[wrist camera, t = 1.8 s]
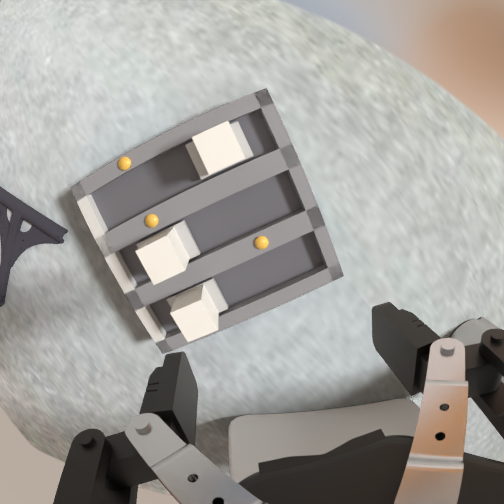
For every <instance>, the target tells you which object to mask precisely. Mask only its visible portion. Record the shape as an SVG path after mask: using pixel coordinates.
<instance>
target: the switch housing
mask: <svg viewBox="0 0 504 504" xmlns="http://www.w3.org/2000/svg"><path fill="white" fill-rule="evenodd" d="M226 121H228V122H229V124H232V123H234V122H237V121H238V123H239V125H240V127H241V129H242V131H243V133H244V135H245V138H246V140H247V142H248V144H249V146H250V149H251V151H252V153H253V155H254V156H252V157H250V158H248V159H245V160H243V161H241V162H239V163H236V164H234V165H232V166H230V167H227V168H225V169H223V170H221V171H219V172H217V173H214V174H212V175H210V176H208V177H206V178H204V179H202V180H201V178H200V176H199V174H198V172H197V170H196V168H195V165H194V163H193V161H192V159H191V157H190V155H189V153H188V150H187V148H186V146H185V145H186V144H188V143H190V142H192V141H193V139H192V137H193V136H195V135H198V134H200V133H202V132H204V131H206V130H208V129H211V128H213V127H215V126H217V125H219V124H222V123H224V122H226ZM71 190H72V192H73V195H74V197H75V199H76V201H77V203H78V206H79V208H80V210H81V212H82V214H83V216H84V218H85V220H86V223H87V225H88V227H89V229H90V231H91V233H92V235H93V237H94V239H95V241H96V243H97V244H98V246H99V248H100V250H101V252H102V254H103V256H104V258H105V260H106V262H107V263H108V265H109V267H110V269H111V271H112V272H113V274H114V276H115V278H116V280H117V281H118V283H119V285H120V287H121V288H122V290H123V292H124V293H125V295H126V297H127V299H128V300H129V302H130V304H131V305H132V307H133V309H134V310H135V312H136V313H137V315H138V317H139V318H140V320H141V321H142V323H143V325H144V326H145V328H146V329H147V331H148V332H149V334H150V336H151V337H152V339H153V340H154V342H155V343H156V345H157V346H158V348H159V349H160V351H161V352H162V354H164V353H167V352H169V351H172V350H174V349H177V348H180V347H182V346H185V345H187V344H190V343H192V342H195V341H197V340H200V339H202V338H205V337H207V336H210V335H212V334H215V333H217V332H220V331H222V330H224V329H227V328H229V327H232V326H234V325H236V324H239V323H241V322H243V321H246V320H248V319H250V318H253V317H255V316H257V315H260V314H262V313H264V312H266V311H269V310H271V309H273V308H276V307H278V306H280V305H282V304H284V303H287V302H289V301H291V300H293V299H296V298H298V297H300V296H302V295H304V294H306V293H309V292H311V291H313V290H315V289H317V288H319V287H321V286H323V285H326V284H328V283H330V282H332V281H334V280H336V279H338V278H340V277H342V276H344V275H343V272H342V270H341V267H340V264H339V261H338V258H337V255H336V253H335V250H334V247H333V244H332V242H331V239H330V236H329V234H328V231H327V228H326V226H325V223H324V220H323V218H322V215H321V213H320V210H319V207H318V205H317V202H316V200H315V197H314V195H313V192H312V190H311V187H310V185H309V183H308V180H307V178H306V175H305V173H304V170H303V168H302V166H301V163H300V161H299V159H298V156H297V154H296V152H295V149H294V147H293V145H292V143H291V140H290V138H289V136H288V133H287V131H286V129H285V127H284V125H283V122H282V120H281V118H280V116H279V114H278V112H277V109H276V107H275V105H274V103H273V101H272V99H271V97H270V95H269V93H268V90H267V88H266V89H263V90H260V91H258V92H255V93H252V94H250V95H247V96H245V97H242V98H240V99H237V100H235V101H233V102H230V103H228V104H225V105H223V106H221V107H218V108H216V109H214V110H212V111H209V112H207V113H205V114H203V115H200V116H198V117H196V118H194V119H192V120H190V121H188V122H186V123H183V124H181V125H179V126H177V127H175V128H173V129H171V130H169V131H167V132H165V133H163V134H161V135H159V136H158V137H156V138H154V139H152V140H150V141H148V142H146V143H144V144H142V145H141V146H139V147H137V148H135V149H133V150H132V151H130V152H128V153H126V154H125V155H123V156H121V157H119V158H118V159H116V160H114V161H113V162H111V163H109V164H107V165H106V166H104V167H103V168H101V169H99V170H98V171H96V172H94V173H93V174H91V175H90V176H88V177H86V178H85V179H83V180H82V181H80V182H79V183H77V184H76V185H74V186H73V187H71ZM183 220H185V222H186V224H187V226H188V228H189V230H190V232H191V234H192V236H193V238H194V240H195V242H196V244H197V246H198V248H199V250H200V252H201V253H200V255H198V256H196V257H193V258H191V259H189V262H188V264H187V267H186V270H185V271H183V272H181V273H179V274H177V275H175V276H173V277H171V278H168V279H166V280H164V281H162V282H160V283H158V284H155V285H153V283H152V281H151V279H150V277H149V276H148V274H147V272H146V270H145V268H144V267H143V265H142V263H141V261H140V259H139V257H138V255H137V254H136V252H135V251H136V250H137V249H138V247H137V245H136V244H137V243H139V242H140V241H142V240H144V239H146V238H148V237H150V236H152V235H154V234H156V233H158V232H160V231H162V230H164V229H166V228H168V227H170V226H172V225H174V224H176V223H178V222H180V221H183ZM212 276H213V278H214V279H215V281H216V283H217V285H218V287H219V289H220V291H221V293H222V295H223V297H224V299H225V300H226V302H227V304H228V309H227V310H224V311H222V312H220V313H219V318H218V330H217V331H215V332H212V333H210V334H207V335H205V336H203V337H200V338H198V339H195V340H193V341H190V342H188V341H187V340H186V338H185V337H184V335H183V334H182V332H181V330H180V329H179V327H178V325H177V324H176V322H175V320H174V319H173V317H172V316H171V314H170V312H171V309H172V308H171V307H170V305H169V303H168V301H167V300H166V299H167V297H168V296H170V295H172V294H175V293H177V292H179V291H181V290H184V289H186V288H188V287H190V286H192V285H195V284H197V283H199V282H201V281H204V280H206V279H208V278H210V277H212Z"/></svg>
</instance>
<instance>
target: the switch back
mask: <svg viewBox="0 0 504 504" xmlns="http://www.w3.org/2000/svg"><path fill="white" fill-rule="evenodd" d="M166 300H167V301H168V303H169V305H170V307H171V308H172V309H171V312H170V314H171V316H172V317H173V319H174V320H175V322H176V324H177V325H178V327H179V329H180V330H181V332H182V334H183V335H184V337H185V338H186V340H187V341H188V342H190V341H193V340H195V339H198V338H200V337H203V336H205V335H207V334H210V333H212V332H215V331H217V330H218V318H219V313H220V312H222V311H224V310H227V309H228V304H227V302H226V300H225V299H224V297H223V295H222V293H221V291H220V289H219V287H218V285H217V283H216V281H215V279H214V278H213V276H212V277H210V278H208V279H206V280H204V281H201V282H199V283H197V284H195V285H192V286H190V287H188V288H186V289H184V290H181V291H179V292H177V293H175V294H172V295H170V296H168V297H167V299H166Z"/></svg>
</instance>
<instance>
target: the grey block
mask: <svg viewBox="0 0 504 504" xmlns="http://www.w3.org/2000/svg"><path fill="white" fill-rule="evenodd" d="M419 413H420V408H419V407H418V406H417V405H416V404H415V403H414V402H413V401H411V400H408V399H405V398H402V399H392V400H387V401H382V402H376V403H370V404H364V405H357V406H350V407H343V408H335V409H326V410H317V411H306V412H294V413H278V414H253V415H243V416H238V417H237V418H235V419H234V420H232V421H231V423H230V425H229V428H228V451H229V472H230V478H232V479H233V480H234V481H235V482H237V483H239V482H240V481H241V480H243V479H245V478H246V477H248V476H250V475H252V474H254V473H256V472H259V467H258V463H260V462H265V461H270V460H275V459H280V458H284V457H289V456H307V455H321V454H325V453H327V452H329V451H331V450H333V449H335V448H337V447H338V446H340V445H342V444H344V443H346V442H347V441H349V440H351V439H353V438H356V437H359V436H362V435H364V434H367V433H370V432H373V431H375V430H378V429H382V431H383V433H384V435H385V436H388V435H408V436H413V437H414V435H415V431H416V427H417V423H418V418H419Z"/></svg>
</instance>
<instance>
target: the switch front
mask: <svg viewBox="0 0 504 504" xmlns="http://www.w3.org/2000/svg"><path fill="white" fill-rule="evenodd" d="M192 139H193V141H192V142H190V143H188V144H186V145H185V146H186V148H187V150H188V153H189V155H190V157H191V159H192V161H193V163H194V165H195V168H196V170H197V172H198V174H199V176H200V178H201V180H202V179H204V178H206V177H208V176H210V175H212V174H214V173H217V172H219V171H221V170H223V169H225V168H227V167H230V166H232V165H234V164H236V163H239V162H241V161H243V160H245V159H248V158H250V157H252V156H254V155H253V153H252V151H251V149H250V146H249V144H248V142H247V140H246V138H245V135H244V133H243V131H242V129H241V127H240V125H239V123H238V121H237V122H234V123H232V124H229V122H228V121H226V122H224V123H222V124H219V125H217V126H215V127H213V128H211V129H208V130H206V131H204V132H202V133H200V134H198V135H195V136H193V137H192Z"/></svg>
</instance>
